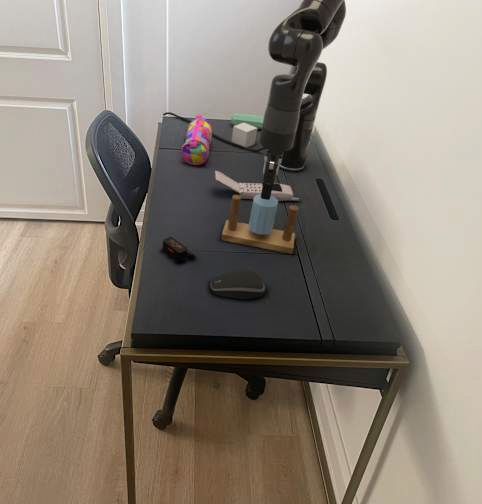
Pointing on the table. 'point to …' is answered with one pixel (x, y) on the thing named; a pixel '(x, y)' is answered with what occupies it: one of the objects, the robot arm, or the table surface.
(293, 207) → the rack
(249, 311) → the table surface
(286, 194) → the mobile phone
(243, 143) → the white cube
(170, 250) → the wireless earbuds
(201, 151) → the pencil case
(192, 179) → the table surface
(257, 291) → the computer mouse
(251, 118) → the teal long bar
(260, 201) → the cup
